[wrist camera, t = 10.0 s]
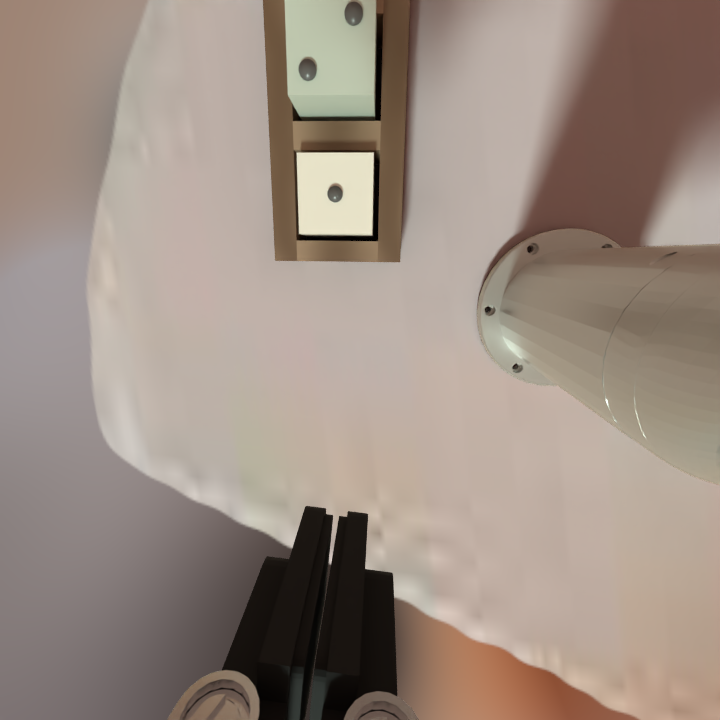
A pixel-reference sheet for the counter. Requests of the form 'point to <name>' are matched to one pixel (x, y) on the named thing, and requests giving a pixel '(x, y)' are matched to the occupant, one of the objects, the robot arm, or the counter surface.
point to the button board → (338, 141)
